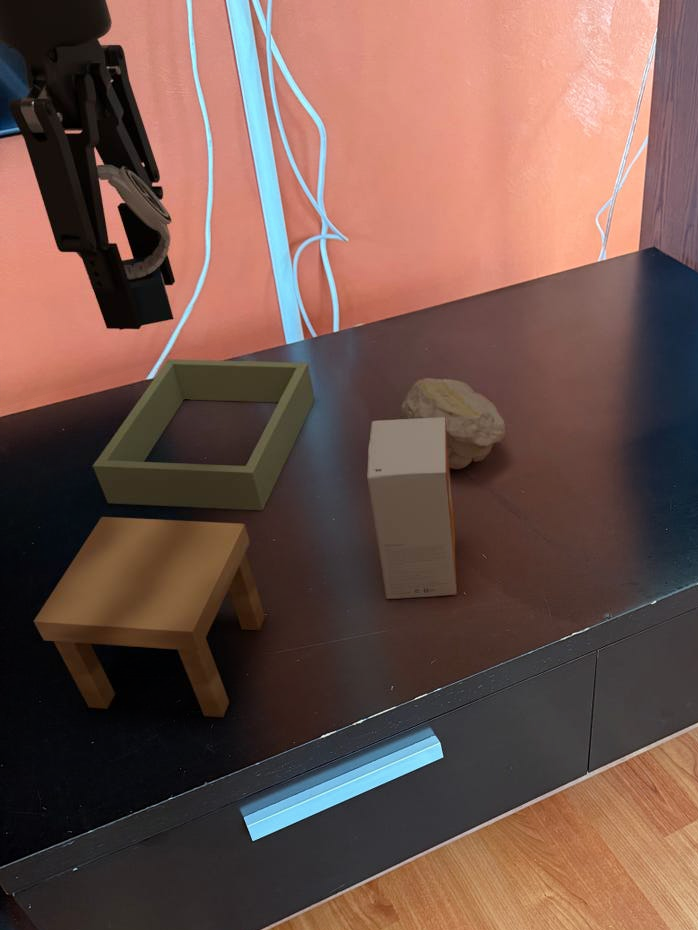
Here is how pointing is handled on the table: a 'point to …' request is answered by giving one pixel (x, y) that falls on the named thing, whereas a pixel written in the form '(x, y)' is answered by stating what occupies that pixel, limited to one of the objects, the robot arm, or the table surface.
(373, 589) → the table surface
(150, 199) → the watch
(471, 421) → the beige rock
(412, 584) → the small box
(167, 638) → the stool
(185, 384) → the olive green rectangular frame
